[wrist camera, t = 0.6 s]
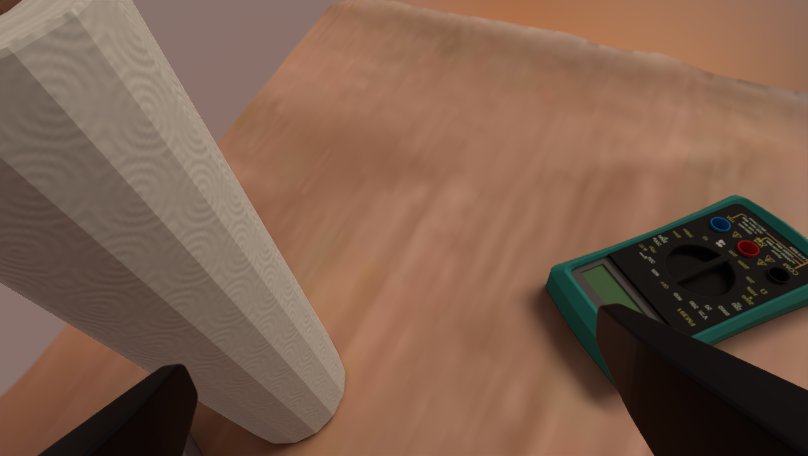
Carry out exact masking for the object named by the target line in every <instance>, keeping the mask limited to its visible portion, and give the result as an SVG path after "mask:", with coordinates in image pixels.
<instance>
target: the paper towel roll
mask: <svg viewBox="0 0 808 456" xmlns="http://www.w3.org/2000/svg"><path fill="white" fill-rule="evenodd" d="M0 283H2V284H4V285H5V286H7V287H9V288H10V289H12V290H14V291H15V292H17V293H19V294H20V295H22V296H24V297H25V298H27V299H29V300H30V301H32V302H34V303H35V304H37V305H39V306H40V307H42V308H44V309H45V310H47V311H49V312H50V313H52V314H54V315H55V316H57V317H59V318H60V319H62V320H64V321H65V322H67V323H69V324H70V325H72V326H74V327H75V328H77V329H79V330H80V331H82V332H84V333H85V334H87V335H89V336H90V337H92V338H94V339H95V340H97V341H99V342H100V343H102V344H104V345H105V346H107V347H109V348H110V349H112V350H114V351H115V352H117V353H119V354H120V355H122V356H124V357H126V358H127V359H129V360H131V361H132V362H134V363H136V364H137V365H139V366H141V367H142V368H144V369H146V370H147V371H149V372H151V373H153V372H155V371H156V370H157V369H159V368H160V367H162V366H165V365H171V364H178V363H180V364H183V365H185V366H186V368H187V370H188V372H189V374H190V376H191V378H192V381H193V383H194V385H195V387H196V389H197V393H198V401H199V402H201V403H202V404H204V405H206V406H207V407H209V408H211V409H212V410H214V411H216V412H217V413H219V414H221V415H222V416H224V417H226V418H227V419H229V420H231V421H232V422H234V423H236V424H237V425H239V426H241V427H243V428H244V429H246V430H248V431H249V432H251V433H253V434H254V435H256V436H258V437H260V438H262V439H265V440H267V441H269V442H271V443H273V444H276V443H296V442H298V441H300V440H302V439H305V438H307V437H309V436H311V435H313V434H315V433H317V432H318V431H319V430H320V429H321V428H322V427H323V426H324V425H325V424H326V423H327V422H328V421H329V420H330V419H331V418H332V417H333V416H334V414H335V412H336V410H337V407H338V405H339V403H340V401H341V399H342V397H343V394H344V382H345V371H344V368H343V365H342V363H341V360H340V357H339V355H338V353H337V351H336V349H335V347H334V345H333V343H332V341H331V339H330V337H329V335H328V334H327V332H326V330H325V329H324V327H323V325H322V323H321V322H320V320H319V318H318V317H317V315H316V313H315V312H314V310H313V308H312V306H311V305H310V303H309V301H308V300H307V298H306V296H305V295H304V293H303V291H302V289H301V288H300V286H299V284H298V283H297V281H296V279H295V277H294V276H293V274H292V272H291V271H290V269H289V267H288V266H287V264H286V262H285V260H284V259H283V257H282V255H281V254H280V252H279V250H278V249H277V247H276V245H275V243H274V242H273V240H272V238H271V237H270V235H269V233H268V232H267V230H266V228H265V226H264V225H263V223H262V221H261V220H260V218H259V216H258V214H257V213H256V211H255V209H254V208H253V206H252V204H251V203H250V201H249V199H248V197H247V196H246V194H245V192H244V191H243V189H242V187H241V186H240V184H239V182H238V180H237V179H236V177H235V175H234V174H233V172H232V170H231V168H230V167H229V165H228V163H227V162H226V160H225V158H224V157H223V155H222V153H221V151H220V150H219V148H218V146H217V145H216V143H215V141H214V140H213V138H212V136H211V135H210V133H209V131H208V129H207V128H206V126H205V124H204V123H203V121H202V119H201V117H200V116H199V114H198V112H197V111H196V109H195V107H194V106H193V104H192V102H191V100H190V99H189V97H188V95H187V94H186V92H185V90H184V89H183V87H182V85H181V83H180V82H179V80H178V78H177V77H176V75H175V73H174V71H173V70H172V68H171V66H170V65H169V63H168V61H167V60H166V58H165V56H164V54H163V53H162V51H161V49H160V48H159V46H158V44H157V42H156V41H155V39H154V37H153V36H152V34H151V32H150V31H149V29H148V27H147V25H146V24H145V22H144V20H143V19H142V17H141V15H140V14H139V12H138V10H137V8H136V7H135V5H134V3H133V2H132V0H0Z"/></svg>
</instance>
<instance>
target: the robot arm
mask: <svg viewBox="0 0 808 456" xmlns="http://www.w3.org/2000/svg"><path fill="white" fill-rule="evenodd" d="M596 343H597V346H598V349H599V351H600V353H601V355H602V357H603V359H604V361H605V364H606V366H607V368H608V370H609V372H610V374H611V376H612V379H613V381H614V383H615V385H616V387H617V389H618V392H619V394H620V396H621V398H622V400H623V402H624V404H625V406H626V408H627V410H628V412H629V414H630V416H631V418H632V419H633V421H634V423H635V425H636V426H637V428H638V430H639V431H640V433H641V435H642V436H643V438H644V440H645V441H646V443H647V445H648V446H649V448H650V449H651V451H652V453H653V454H654V456H808V390H806V389H804V388H802V387H800V386H797V385H795V384H793V383H791V382H789V381H787V380H784V379H782V378H780V377H778V376H776V375H774V374H771V373H769V372H767V371H765V370H763V369H761V368H759V367H756V366H754V365H752V364H750V363H748V362H746V361H743V360H741V359H739V358H737V357H735V356H733V355H730V354H728V353H726V352H724V351H722V350H720V349H718V348H715V347H713V346H711V345H709V344H707V343H705V342H702V341H700V340H698V339H696V338H694V337H692V336H689V335H687V334H685V333H683V332H681V331H679V330H677V329H674V328H672V327H670V326H668V325H666V324H664V323H661V322H659V321H657V320H655V319H653V318H651V317H648V316H646V315H644V314H642V313H640V312H638V311H635V310H633V309H631V308H629V307H627V306H625V305H623V304H620V303H613V304H606V305H601V306H600V307H599V308H598V310H597V322H596ZM197 402H198V393H197V389H196V387H195V385H194V383H193V381H192V378H191V376H190V374H189V372H188V370H187V368H186V366H185V365H183V364H180V363H178V364H171V365H165V366H162V367H160V368H159V369H157V370H156V371H155V372H153V373H152V374H150V375H149V376H148V377H146V378H145V379H143V380H142V381H141V382H139V383H138V384H136V385H135V386H134V387H132V388H131V389H130V390H128V391H127V392H125V393H124V394H123V395H121V396H120V397H118V398H117V399H116V400H114V401H113V402H111V403H110V404H109V405H107V406H106V407H104V408H103V409H102V410H100V411H99V412H97V413H96V414H95V415H93V416H92V417H90V418H89V419H88V420H86V421H85V422H84V423H82V424H81V425H79V426H78V427H77V428H75V429H74V430H72V431H71V432H70V433H68V434H67V435H65V436H64V437H63V438H61V439H60V440H58V441H57V442H56V443H54V444H53V445H51V446H50V447H49V448H47V449H46V450H45V451H43V452H42V453H40V454H39V455H38V456H183V453H184V449H185V446H186V442H187V439H188V435H189V431H190V428H191V424H192V420H193V417H194V413H195V409H196V406H197Z"/></svg>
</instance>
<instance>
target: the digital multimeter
mask: <svg viewBox="0 0 808 456" xmlns="http://www.w3.org/2000/svg"><path fill="white" fill-rule="evenodd" d="M669 247H670V248H669ZM803 285H804V286H803ZM801 286H802V287H801ZM546 287H547V290H548V291H549V293H550V295H551V297H552V298H553V300H554V302H555V304H556V305H557V307H558V309H559V310H560V312H561V314H562V315H563V317H564V319H565V320H566V322H567V323H568V325H569V326H570V328H571V329H572V331H573V332H574V334H575V335H576V337H577V338H578V339H579V341H580V342H581V344H582V345H583V346H584V348H585V349H586V350H587V351H588V353H589V354H590V355H591V357H592V358H593V359H594V360H595V362H596V363H597V364H598V365H599V367H600V368H601V369H602V370H603V371H604V373H605V374H606V375H607V376H608V377H609V379H610V380H611V381H612V382H613V383H614V381H613V379H612V376H611V374H610V372H609V370H608V368H607V366H606V364H605V361H604V359H603V357H602V355H601V353H600V351H599V349H598V346H597V343H596V322H597V310H598V308H599V307H600V306H601V305H606V304H613V303H620V304H623V305H625V306H627V307H629V308H631V309H633V310H635V311H638V312H640V313H642V314H644V315H646V316H648V317H651V318H653V319H655V320H657V321H659V322H661V323H664V324H666V325H668V326H670V327H672V328H674V329H677V330H679V331H681V332H683V333H685V334H687V335H689V336H692V337H694V338H696V339H698V340H700V341H702V342H705V343H707V344H709V345H711V346H712V345H714V344H716V343H718V342H720V341H723V340H725V339H727V338H729V337H731V336H733V335H735V334H737V333H740V332H742V331H745V330H747V329H749V328H752V327H754V326H757V325H759V324H761V323H764V322H766V321H769V320H771V319H773V318H776V317H778V316H781V315H783V314H785V313H788V312H791V311H793V310H796V309H799V308H801V307H804V306H806V305H808V240H807V239H806V238H805V237H804V236H803V235H801V234H800V233H799V232H797V231H796V230H795V229H793V228H792V227H791V226H790V225H788V224H787V223H785V222H784V221H782V220H781V219H779V218H777V217H776V216H774V215H773V214H771V213H769V212H768V211H766V210H765V209H763V208H762V207H760V206H759V205H757V204H755V203H754V202H752V201H750V200H749V199H746V198H744V197H741V196H737V195H733V196H730V197H728V198H726V199H724V200H721V201H719V202H717V203H715V204H713V205H711V206H709V207H706V208H704V209H702V210H700V211H698V212H695V213H693V214H691V215H689V216H686V217H684V218H682V219H679V220H677V221H675V222H672V223H670V224H668V225H666V226H663V227H661V228H659V229H656V230H654V231H651V232H648V233H646V234H643V235H640V236H638V237H635V238H632V239H630V240H627V241H625V242H622V243H619V244H617V245H614V246H611V247H608V248H605V249H602V250H600V251H597V252H594V253H591V254H588V255H585V256H582V257H579V258H576V259H573V260H570V261H567V262H564V263H561V264H558V265H555V266H554V267H552V269H551V272H550V275H549V278H548V281H547V284H546ZM799 287H800V288H799ZM736 289H737V290H736ZM794 289H795V290H794ZM792 290H793V291H792ZM790 291H791V292H790ZM783 294H784V295H783ZM781 295H782V296H781ZM774 298H775V299H774ZM772 299H773V300H772ZM765 302H766V303H765ZM763 303H764V304H763ZM754 307H755V308H754ZM745 311H746V312H745ZM743 312H744V313H743ZM734 316H735V317H734ZM725 320H726V321H725ZM723 321H724V322H723ZM714 325H715V326H714ZM705 329H706V330H705ZM703 330H704V331H703ZM694 334H695V335H694ZM614 384H615V383H614Z"/></svg>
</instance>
